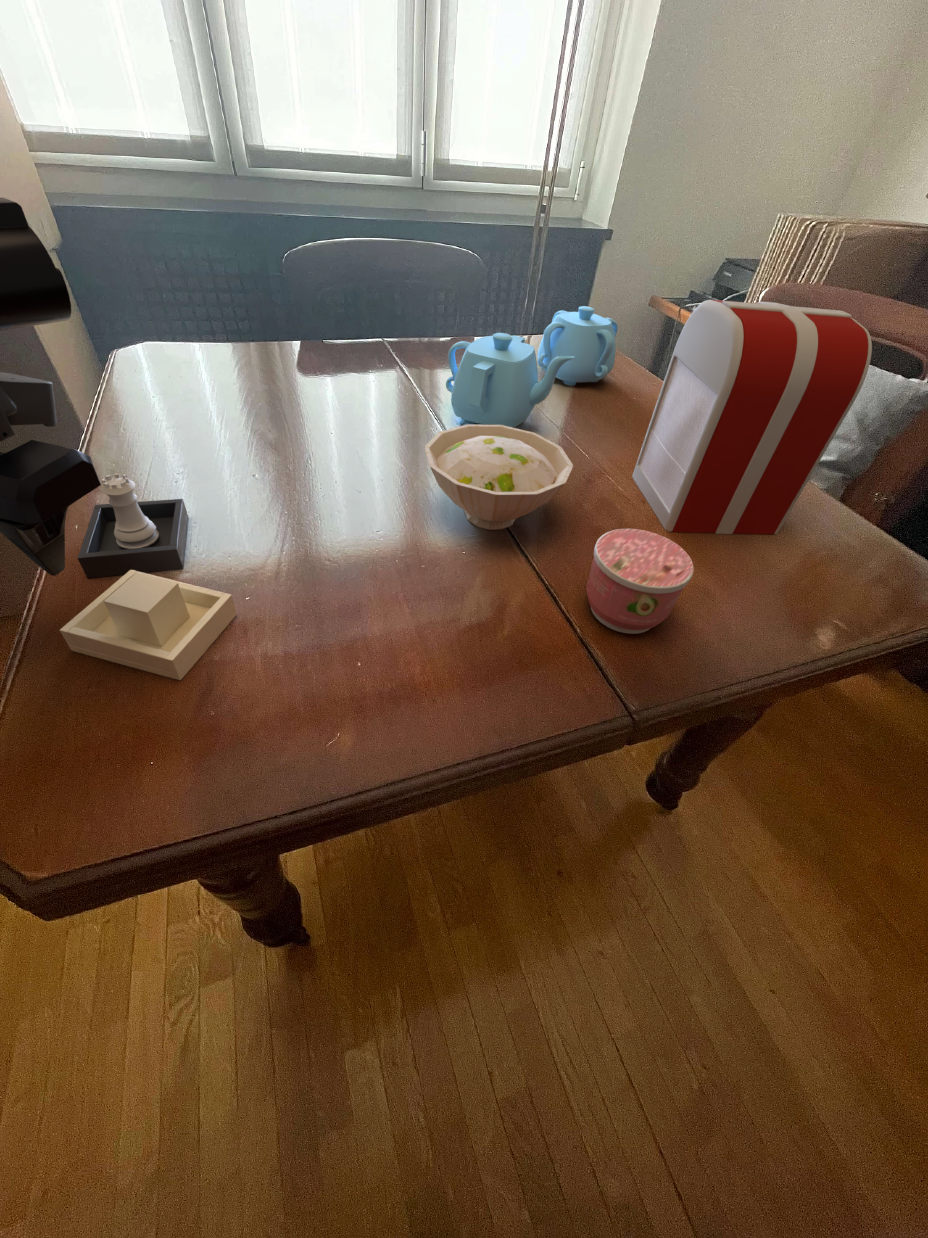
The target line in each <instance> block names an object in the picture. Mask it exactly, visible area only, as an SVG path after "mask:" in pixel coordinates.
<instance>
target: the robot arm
mask: <svg viewBox="0 0 928 1238" xmlns="http://www.w3.org/2000/svg"><path fill="white" fill-rule="evenodd" d="M27 220H28V219H27V218H26V214H25V211H24V209H23V206H21V205H20V204H19V203H18V202H16V201H13V200H11V199H8V198H6V197H0V332H2V331H3V332H4V331H7V330H8V331H9V330H15V329H22V328H27V327H28V328H29V327H35V326H40V325H41V326H42V325H47V324H54V323H61V322H66V321H69V320H70V319H71V317H72V301H71V298H70V293H69V290H68V287H67V283H66V281H65V278H64V275H63V273H62V271H61V270H60V269H59V268H58V267H56V265H55V263H54V261H53V259H52V257H51V255H50V253H49V252H48V250H47V248H46V246H45V245H44V243H43V242H42V240H41V239H40V237H39V236H38V234H36V232H35V231H34V230H33V229H32V228H31V226H30V225H29V222H28V221H27ZM56 410H57V409H56V401H55V394H54V386H53V382H52V381H49V380H44V379H39V378H36V377H31V376H25V375H21V374H15V373H10V372H2V371H0V442H3V441H5V440H8V439H9V438H11V437H13V436H15V435H16V434H15V431H14V429H13V427H12V426H28V425H29V426H30V425H34V426H35V425H43V426H44V427H47V428H51V427H53V428H54V427H57V426H58V417H57V411H56ZM101 486H102V482H101V479H100V477H99V474H98V471H97V469H96V466H95V463H94V462H93V460H92V457H91V455H89V454H87V453H84V452H82V451H80V450H77V449H74V448H70V447H66V446H61V445H58V444H57V445H56V444H53V443H48V442H44V441H39V440H35V439H31V440H29V441H27V442H25V443H23V444H20V445H19V446H16V447H15V448H13V449H11V450H9V451H7V452H2V451H0V533H1V534H2V536H4V537H5V538H7V540H9V542H10V543H12V544H13V545H14V546H16V548H18V549H19V550H20V551H21V552H22V553H23V554H24V555H25V556H27V557H28V558H29V560H31V561H32V562H33V563H35V564H36V565H37V566H38V567H40V568H41V569H42V570H43V571H45V572H46V573H47V574H48V575H50V576H53V577H56V576H58V575H60V574H61V573H62V572H63V571H64V570H65V569H66V518H67V512H68V509H69V507H70V506H71V505H72V504H74V503H77V501H79V500H80V499H83V498H84V497H85V496H87V495H88V494H90V493H91V492H93V491H94V490H96V489H97V488H99V487H101Z"/></svg>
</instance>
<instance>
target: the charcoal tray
mask: <svg viewBox="0 0 928 1238" xmlns="http://www.w3.org/2000/svg"><path fill="white" fill-rule="evenodd" d="M137 503H138V506H139V507H140V509H141V511H142V513H143V514H144V516H146V517H147V518H148V519H149V520H150V521H152V522H153V524H154V525H155V526H156V530H157V531H158V533H159V536H158V539H157V541H156V542H155V543H154V544H153V545H151V546H150V547H148V548H138V549H125V548H123V547H121V546H119V545H118V544H117V542H116V537H115V536H114V529H115V524H116V517H115V512H114V509H113V506H112V505H111V504H110V503H100V504H99V503H98V504H94V507H93V510H92V512H91V515H90V519H89V522H88V525H87V528H86V531H85V534H84V537H83V541H82V544H81V547H80V549H79V553H78V554H77V555H78V556H77V560H78V562H79V564H80V566H81V568H82V570H83V573H84V575H85V576H86V578H87V579H95V578H103V577H104V578H105V577H114V576H116V577H117V576H124V575H125V574H126V573H127V572H128V571H130V570H135V571H137V572H142V573H146V574H147V573H155V572H164V571H174V570H183V569H184V566H185V556H186V548H187V547H186V545H187V538H188V537H187V536H188V529H189V527H188V526H189V518H190V517H189V514H188V511H187V508H186V504H185V501H184V499H183V498H173V499H159V500H157V499H156V500H145V501H144V500H143V501H137Z"/></svg>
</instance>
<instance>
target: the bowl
mask: <svg viewBox="0 0 928 1238" xmlns="http://www.w3.org/2000/svg"><path fill="white" fill-rule="evenodd" d="M424 451H425V455H426V459H427V461H428V465H429V468H430V470H431V473H432V474H433V477H434V479H435V481H436V483H437V485H438V487H439V488H440V489H441V490H442V492H444V494H445V495H446V496H447V497H448V498H449V499H450V501H452V502H453V504H455V506H457V507H459V508H460V509H462V510H463V511H464V513H465V517H466V520H467V521H468V522H470V523H471V524H473V525H474V526H475V527H477V528H481V529H485V530H489V531H490V530H504V529H506V528H509V527H511V526H513V525H514V522H515V521H516V520H517V519H519V518H521V517H523V516H525V515H528V514H530V513H531V512H533V511H535V510H536V509H539V508H540V507H541V506H543V505H545V504H546V503H548V502H549V501H551V499H553V498H554V496H555V495H556V494H558V492H559V491H560V490H561V489H562V488H563V486H565V484H566V482H568V481H567V480H568V479H569V476H570V474H571V472H572V470H573V467H574V464H573V463H572V461H571V459H570V457H568V455H567V454H566V451H565V450H564V449H563V447H562V446H560V445H559V444H556V443H554V442H553V441H551V440H549V439H547V438H546V437H543V436H542V435H540V434H538V433H537V432H533V431H530V430H526V429H525V430H524V429H520V428H516V427H513V428H512V427H508V426H504V425H483V424H474V425H473V424H467V425H460V426H459V425H458V426H456V427H452V428H448V429H445V430H442V431H438V432H437V433H436V434H435V436H433V437H432V439H430V441H429V442H427V443H426V444H425V446H424Z"/></svg>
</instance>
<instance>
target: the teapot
mask: <svg viewBox="0 0 928 1238" xmlns="http://www.w3.org/2000/svg"><path fill="white" fill-rule="evenodd" d="M460 349H464V350H465V351H464V353H463V355H462V358H461V360H460V363H459V365H457V361H456V360H457V359H456V352H457V350H460ZM573 358H574V356H558V357H555V358H554V359H553V360H552V361H551V362H550V364H549V366H548V368H547V371H546V372H545V373H544V375H543V378H542V379H541V380H540V381H539V371H538V363H537V355H536V349H535V347H534V345H532V344H529V343H526V337H524V336H520V335H519V336H518V335H510V334H509V333H505V332H496V333H493V334H492V335H485V336H482V337H479V338H478V339H475V340H473V341H471V342H469V341H465V340H463V341H462V340H461V341H458V342H456V343H454V344H453V345H452V346H451V347H450V348H449V350H448V354H447V360H448V361H447V362H448V365H449V368H450V369H449V370H450V372H451V376H449V377H448V378H447V380H446V381H445V388H446V390H447V391H448V392H449V393H451V395H450V402H451V408H452V410H453V413H454V414H455V416H456V417H458V418H460V419H459V420H458V423H459V424H460V425H461V426H463V425H467V424H473V425H476V424H478V425H504V426H508V427H512V428H516V427H517V426H519V425H520V424H522V423H523V422H524V421H526V419H527V418H528V417H529V416H530V414H531V413H532V412H533V409H534V408H535V406H536V405H538V404H541V403H542V402H543V401H545V400H546V398H547V397H548V396H549V395H550V393H551V391H552V389H553V386H554V383H555V380H556V374H557V372H558V370H559V368H560V367H561V366H562V365H563V364H564V363H565V362H567V361H568V360H570V359H573ZM452 382H453V384H452Z"/></svg>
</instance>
